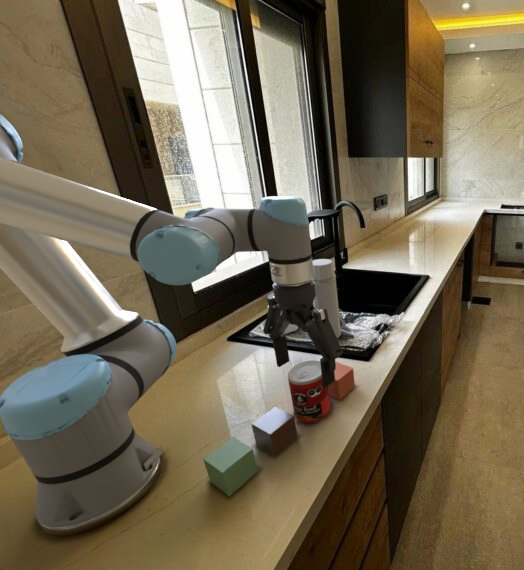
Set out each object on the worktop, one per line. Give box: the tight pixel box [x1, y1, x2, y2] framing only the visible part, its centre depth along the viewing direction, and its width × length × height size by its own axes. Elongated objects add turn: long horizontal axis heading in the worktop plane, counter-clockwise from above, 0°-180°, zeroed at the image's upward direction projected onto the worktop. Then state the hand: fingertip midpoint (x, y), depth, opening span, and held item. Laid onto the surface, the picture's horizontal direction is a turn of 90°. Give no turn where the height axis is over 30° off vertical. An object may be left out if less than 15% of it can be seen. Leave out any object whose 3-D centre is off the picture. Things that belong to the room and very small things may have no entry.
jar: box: [266, 292, 299, 335], centre depth 107 cm, size 9×8×12 cm
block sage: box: [202, 436, 259, 497], centre depth 57 cm, size 6×6×6 cm
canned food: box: [287, 359, 332, 424], centre depth 72 cm, size 8×8×11 cm
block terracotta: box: [329, 361, 356, 400], centre depth 80 cm, size 6×6×6 cm
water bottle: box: [312, 258, 342, 339], centre depth 99 cm, size 9×8×25 cm
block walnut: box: [250, 405, 298, 457], centre depth 65 cm, size 6×6×6 cm
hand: (305, 373), depth 70 cm, fingers open, 13 cm apart
